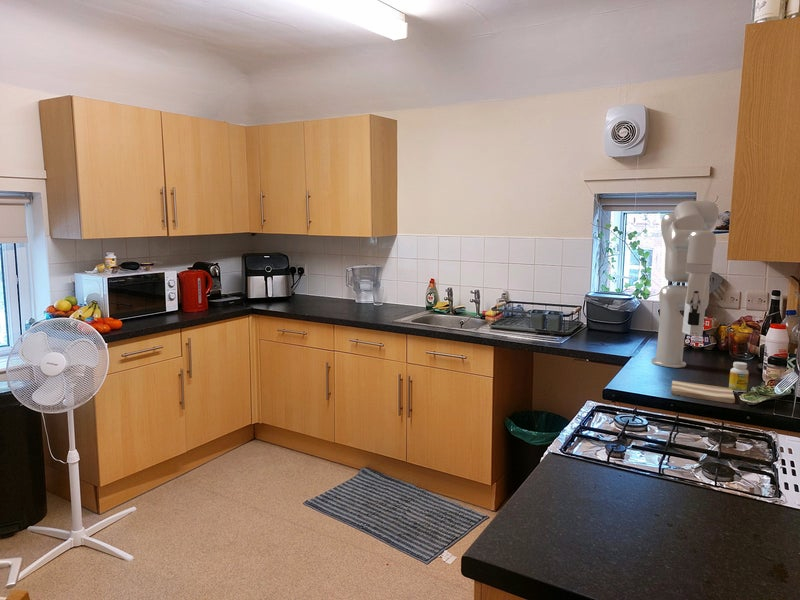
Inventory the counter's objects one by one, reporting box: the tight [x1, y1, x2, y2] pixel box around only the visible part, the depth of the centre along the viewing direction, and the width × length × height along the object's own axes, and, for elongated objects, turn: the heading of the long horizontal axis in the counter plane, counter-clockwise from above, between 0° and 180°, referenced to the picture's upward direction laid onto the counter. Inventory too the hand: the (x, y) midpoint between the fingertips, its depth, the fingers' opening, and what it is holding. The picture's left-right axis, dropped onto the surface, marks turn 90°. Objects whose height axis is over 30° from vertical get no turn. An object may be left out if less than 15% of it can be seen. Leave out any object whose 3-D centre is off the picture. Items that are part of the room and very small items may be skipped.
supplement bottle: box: [728, 361, 750, 393], centre depth 197 cm, size 5×5×10 cm
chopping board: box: [670, 380, 736, 404], centre depth 193 cm, size 14×18×2 cm
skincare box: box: [682, 299, 706, 337], centre depth 193 cm, size 6×4×12 cm
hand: (693, 322), depth 193 cm, fingers closed on skincare box, 7 cm apart
